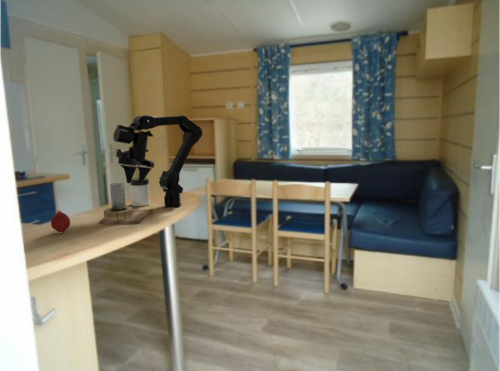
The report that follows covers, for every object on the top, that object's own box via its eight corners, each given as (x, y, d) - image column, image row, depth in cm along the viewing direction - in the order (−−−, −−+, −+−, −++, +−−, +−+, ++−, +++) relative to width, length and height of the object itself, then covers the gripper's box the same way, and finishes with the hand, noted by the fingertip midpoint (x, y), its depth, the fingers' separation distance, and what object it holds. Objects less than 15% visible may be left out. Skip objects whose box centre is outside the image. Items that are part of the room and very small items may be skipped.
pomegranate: (75, 231, 123) (72, 208, 122) (61, 236, 118) (59, 212, 117) (62, 229, 125) (59, 207, 124) (48, 234, 120) (45, 211, 118)
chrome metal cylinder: (126, 215, 140) (124, 182, 138) (125, 218, 135) (123, 184, 133) (113, 216, 139) (110, 183, 137) (111, 219, 134) (109, 185, 132)
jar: (135, 207, 159) (134, 180, 157) (127, 204, 165) (126, 178, 163) (154, 204, 165) (152, 178, 163) (145, 201, 171) (144, 176, 169)
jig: (151, 212, 150) (151, 202, 149) (139, 223, 132) (138, 212, 131) (117, 212, 149) (116, 202, 149) (100, 224, 132) (99, 213, 131)
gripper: (134, 146, 157) (129, 180, 158) (108, 140, 139) (103, 180, 140) (156, 149, 155) (152, 184, 156) (134, 144, 137) (128, 184, 137)
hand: (134, 183), depth 147 cm, fingers open, 9 cm apart
